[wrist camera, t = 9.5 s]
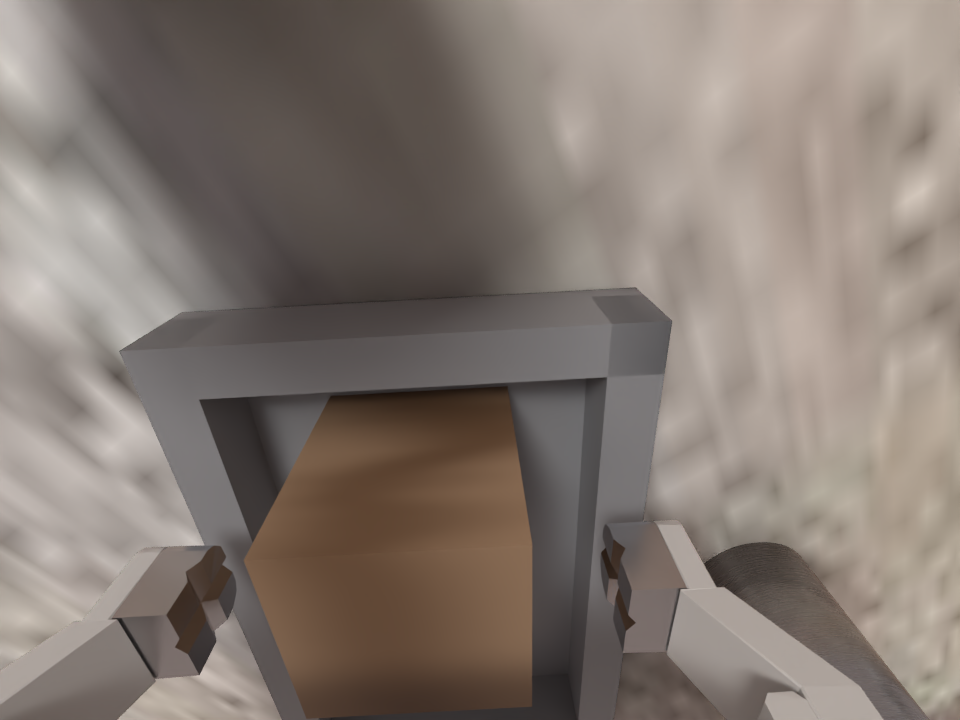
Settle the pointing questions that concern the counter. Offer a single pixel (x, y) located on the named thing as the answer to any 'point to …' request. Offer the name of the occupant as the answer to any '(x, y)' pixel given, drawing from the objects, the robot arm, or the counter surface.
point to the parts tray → (422, 367)
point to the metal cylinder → (810, 619)
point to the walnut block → (402, 558)
